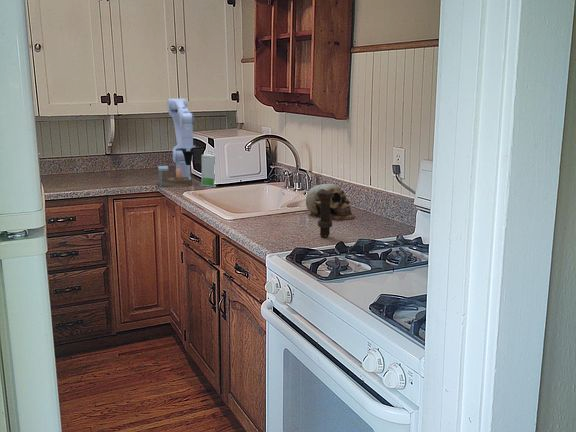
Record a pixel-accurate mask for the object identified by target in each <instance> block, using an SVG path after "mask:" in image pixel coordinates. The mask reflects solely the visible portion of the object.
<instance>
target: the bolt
mask: <svg viewBox="0 0 576 432" xmlns="http://www.w3.org/2000/svg"><path fill="white" fill-rule="evenodd" d="M317 196H318V197H319V198H320V216H319V220H318V221H317V226H318V227H319V230H320V231H319V234H320V235H319V236H320V237H321V238H322V239H324V238H325V237H326V238H328V237H329V236H330V229H331V228H332V227H333V220H332V219H330V202H331V198H332V197H334V192H332V191H319V192H317Z"/></svg>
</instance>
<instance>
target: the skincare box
mask: <svg viewBox="0 0 576 432" xmlns="http://www.w3.org/2000/svg"><path fill="white" fill-rule="evenodd" d="M211 154H212V153H206V154H201V187H208V188H217V187H216V185H215V184H214V181H215V174H214V165H215V156H214V155H211Z"/></svg>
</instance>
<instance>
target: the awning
mask: <svg viewBox="0 0 576 432" xmlns="http://www.w3.org/2000/svg"><path fill="white" fill-rule="evenodd" d="M157 168H158V169H157V170H158V187H159V188H163V180H162V178H163V172H165V171H167V172H168V171H169V166H168V165H158V166H157Z"/></svg>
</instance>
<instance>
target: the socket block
mask: <svg viewBox="0 0 576 432" xmlns="http://www.w3.org/2000/svg"><path fill="white" fill-rule="evenodd" d="M163 187H170V188H171V187H190V180H189V178H188V177H182V179H177V180H176V176H175V177H162V188H163Z"/></svg>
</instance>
